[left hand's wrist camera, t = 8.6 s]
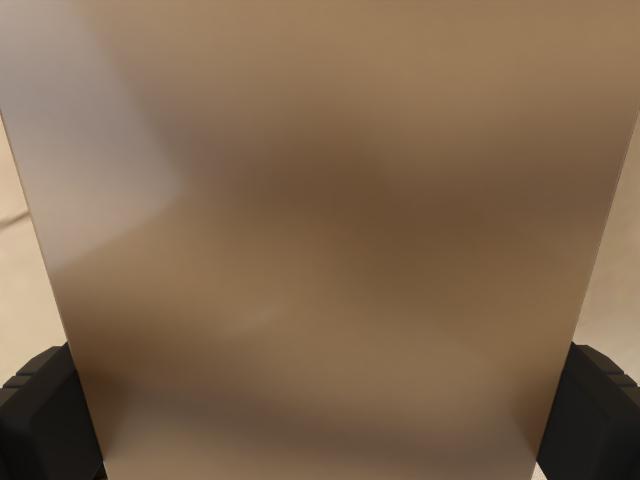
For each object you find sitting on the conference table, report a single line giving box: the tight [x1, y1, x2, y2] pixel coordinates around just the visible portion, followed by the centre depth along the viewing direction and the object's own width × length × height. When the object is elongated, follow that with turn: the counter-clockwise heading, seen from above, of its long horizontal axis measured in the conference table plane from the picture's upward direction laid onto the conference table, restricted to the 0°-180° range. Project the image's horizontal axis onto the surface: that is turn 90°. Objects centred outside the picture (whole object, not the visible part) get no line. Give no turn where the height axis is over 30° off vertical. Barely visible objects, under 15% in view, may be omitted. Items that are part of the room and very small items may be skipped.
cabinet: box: [0, 0, 640, 480], centre depth 11 cm, size 19×10×11 cm, turn 0°
